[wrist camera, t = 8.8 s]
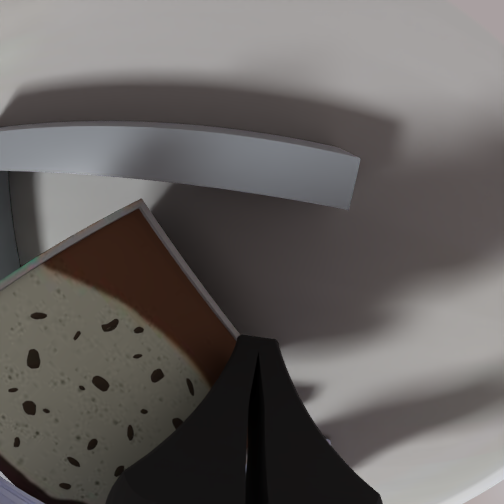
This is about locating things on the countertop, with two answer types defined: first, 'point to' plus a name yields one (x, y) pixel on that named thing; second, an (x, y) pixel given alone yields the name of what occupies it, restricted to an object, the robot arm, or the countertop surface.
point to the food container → (102, 356)
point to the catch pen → (174, 162)
